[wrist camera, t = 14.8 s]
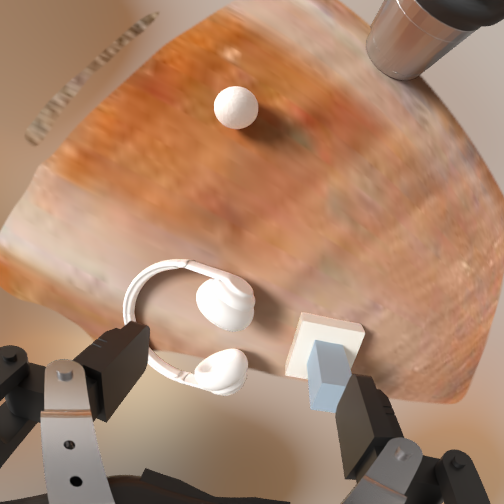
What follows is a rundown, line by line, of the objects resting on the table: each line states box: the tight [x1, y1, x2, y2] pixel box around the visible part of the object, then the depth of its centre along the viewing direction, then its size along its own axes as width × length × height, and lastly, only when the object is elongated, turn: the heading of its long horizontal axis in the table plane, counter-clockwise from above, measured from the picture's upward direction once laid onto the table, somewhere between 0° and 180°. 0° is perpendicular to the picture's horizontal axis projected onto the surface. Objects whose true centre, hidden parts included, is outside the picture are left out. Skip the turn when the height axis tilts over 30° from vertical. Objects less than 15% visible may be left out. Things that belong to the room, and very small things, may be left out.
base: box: [285, 312, 365, 379], centre depth 41 cm, size 9×9×3 cm
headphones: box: [123, 259, 255, 396], centre depth 41 cm, size 20×8×20 cm
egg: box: [214, 86, 258, 129], centre depth 34 cm, size 5×5×7 cm
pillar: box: [307, 340, 352, 413], centre depth 35 cm, size 4×4×10 cm
